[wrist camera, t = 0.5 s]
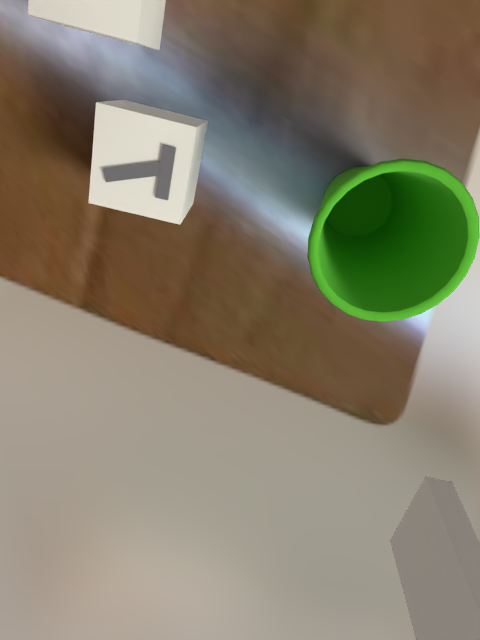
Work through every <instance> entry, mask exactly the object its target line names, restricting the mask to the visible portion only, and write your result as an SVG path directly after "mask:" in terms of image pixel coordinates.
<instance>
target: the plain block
mask: <svg viewBox="0 0 480 640" xmlns="http://www.w3.org/2000/svg"><path fill="white" fill-rule="evenodd" d="M165 2H166V0H28V15H31V16H35V17H38V18H41V19H45V20H48V21H51V22H54V23H58V24H61V25H64V26H67V27H71V28H75V29H78V30H82V31H86V32H90V33H94V34H98V35H102V36H106V37H109V38H113V39H117V40H121V41H125V42H129V43H133V44H136V45H140V46H144V47H148V48H152V49H156V50H159V49H160V42H161V34H162V26H163V18H164V10H165Z"/></svg>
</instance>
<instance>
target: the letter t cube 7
mask: <svg viewBox="0 0 480 640" xmlns="http://www.w3.org/2000/svg"><path fill="white" fill-rule="evenodd" d="M207 124H208V121H207V120H203V119H199V118H195V117H191V116H187V115H183V114H179V113H175V112H171V111H167V110H163V109H159V108H155V107H151V106H147V105H143V104H139V103H135V102H131V101H127V100H115V101H104V102H96V110H95V123H94V137H93V151H92V164H91V178H90V191H89V203H91V204H96V205H100V206H104V207H108V208H112V209H117V210H121V211H125V212H129V213H134V214H138V215H142V216H146V217H150V218H155V219H159V220H163V221H167V222H172V223H176V224H181V222H182V221H183V219H184V218H185V216H186V214H187V213H188V211H189V210H190V208H191V206H192V205H193V202H194V196H195V190H196V185H197V179H198V174H199V168H200V163H201V157H202V151H203V146H204V140H205V135H206V129H207Z"/></svg>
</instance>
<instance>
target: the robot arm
mask: <svg viewBox="0 0 480 640" xmlns="http://www.w3.org/2000/svg"><path fill="white" fill-rule="evenodd" d="M390 542H391V545H392V549H393V553H394V557H395V561H396V564H397V568H398V572H399V576H400V580H401V584H402V587H403V591H404V595H405V599H406V603H407V607H408V610H409V614H410V618H411V622H412V626H413V629H414V633H415V637H416V640H480V542H479V540H478V538H477V535H476V533H475V531H474V529H473V527H472V524H471V522H470V520H469V518H468V516H467V514H466V511H465V509H464V507H463V505H462V503H461V500H460V498H459V496H458V494H457V491H456V489H455V487H454V485H453V483H452V482H451V481H445V480H440V479H435V478H430V477H425V478H424V480H423V482H422V484H421V485H420V487H419V489H418V491H417V493H416V494H415V496H414V498H413V500H412V502H411V504H410V506H409V507H408V509H407V511H406V513H405V514H404V517H403V518H402V520H401V522H400V524H399V525H398V527H397V529H396V531H395V532H394V534H393V536H392V538H391V540H390Z"/></svg>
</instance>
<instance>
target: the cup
mask: <svg viewBox="0 0 480 640" xmlns="http://www.w3.org/2000/svg"><path fill="white" fill-rule="evenodd" d="M478 239H479V217H478V213H477V210H476V207H475V204H474V201H473V198H472V197H471V195H470V194H469V192H468V191H467V189H466V188H465V186H464V185H463V184H462V182H461V181H460V180H458V179H457V178H456V177H455V176H453V175H452V174H451V173H450V172H448V171H447V170H446V169H444V168H441V167H439V166H436V165H434V164H431V163H429V162H426V161H419V160H410V159H398V160H391V161H384V162H379V163H377V164H374V165H372V166H369V167H356V168H351V169H348V170H346V171H343V172H342V173H341V174H339V175H338V176H336V177H335V178H334V179H333V180H332V181H331V182H330V184H329V185H328V187H327V189H326V191H325V193H324V196H323V200H322V204H321V208H320V209H319V211H318V213H317V214H316V216H315V218H314V221H313V225H312V228H311V231H310V234H309V239H308V261H309V265H310V270H311V275H312V277H313V279H314V281H315V283H316V285H317V287H318V288H319V290H320V292H321V293H322V294H323V295H324V296H325V297H326V298H327V299H328V300H329V302H330V303H331V304H333V305H334V306H336V307H337V308H339V309H340V310H342V311H343V312H345V313H347V314H350V315H353V316H355V317H358V318H361V319H365V320H374V321H393V320H402V319H405V318H409V317H412V316H415V315H418V314H421V313H423V312H425V311H426V310H428V309H430V308H432V307H434V306H436V305H437V304H438V303H440V302H441V301H442V300H443V299H445V298H446V297H447V296H448V295H449V294H451V293H452V292H453V291H454V290H455V289H456V287H457V286H458V285H459V284H460V282H461V281H462V280H463V278H464V277H465V276H466V274H467V272H468V270H469V268H470V266H471V264H472V262H473V260H474V258H475V253H476V249H477V244H478Z"/></svg>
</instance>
